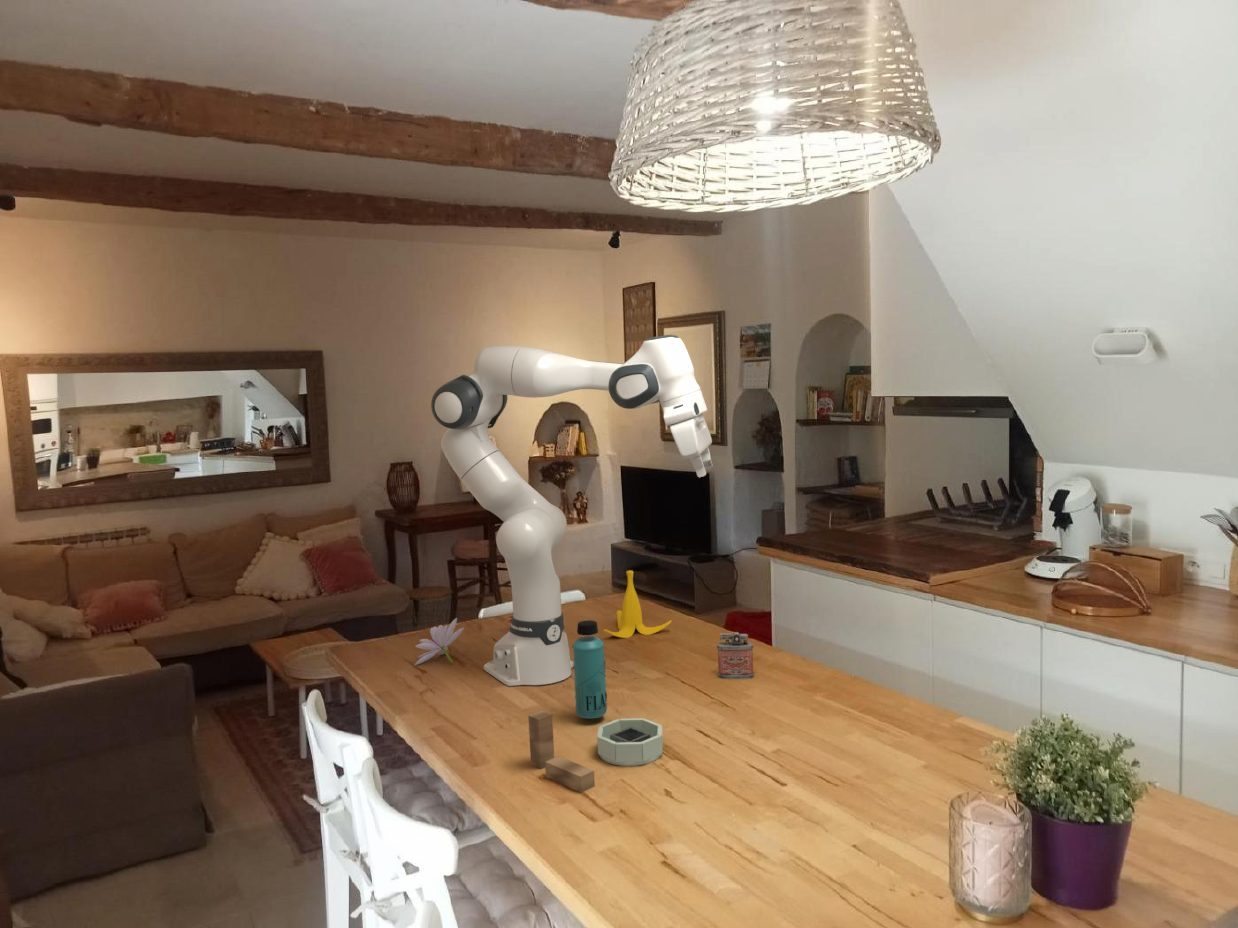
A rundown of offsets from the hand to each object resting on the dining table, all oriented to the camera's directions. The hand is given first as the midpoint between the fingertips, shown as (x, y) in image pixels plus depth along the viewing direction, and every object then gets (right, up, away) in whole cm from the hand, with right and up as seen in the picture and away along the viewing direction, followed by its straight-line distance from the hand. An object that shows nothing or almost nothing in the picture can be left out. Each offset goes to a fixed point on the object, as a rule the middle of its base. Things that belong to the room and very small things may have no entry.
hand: (705, 472), depth 186 cm
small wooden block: (-26, -52, -34) cm, 68 cm away
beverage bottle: (-24, -50, -8) cm, 55 cm away
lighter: (+8, -46, +14) cm, 49 cm away
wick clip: (-16, -51, -24) cm, 58 cm away
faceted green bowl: (-16, -51, -24) cm, 58 cm away
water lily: (-62, -47, +34) cm, 85 cm away
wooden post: (-32, -52, -27) cm, 66 cm away
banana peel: (-16, -44, +50) cm, 68 cm away
